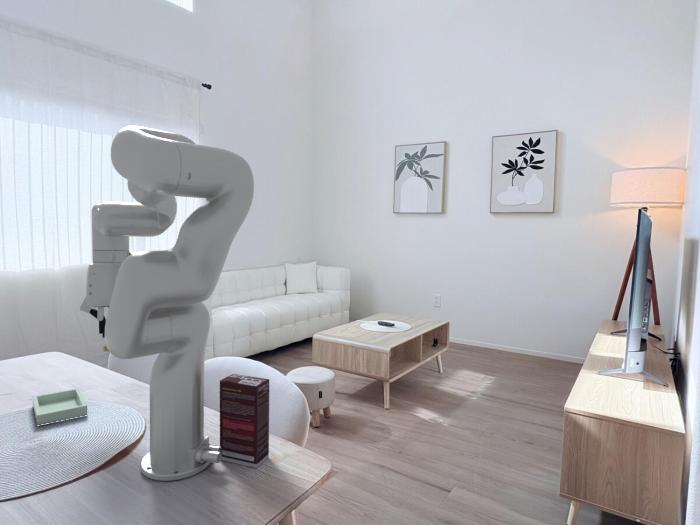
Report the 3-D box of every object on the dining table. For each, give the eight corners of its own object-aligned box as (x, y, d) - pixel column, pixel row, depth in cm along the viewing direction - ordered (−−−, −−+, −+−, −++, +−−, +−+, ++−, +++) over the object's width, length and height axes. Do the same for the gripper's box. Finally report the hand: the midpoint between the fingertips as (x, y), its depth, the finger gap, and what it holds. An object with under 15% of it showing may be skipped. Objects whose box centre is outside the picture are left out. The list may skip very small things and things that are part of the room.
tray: (87, 416, 102) (87, 405, 102) (37, 427, 96) (36, 415, 96) (78, 397, 112) (78, 388, 112) (32, 406, 106) (32, 396, 106)
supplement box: (269, 457, 86) (271, 378, 85) (256, 469, 81) (257, 386, 80) (232, 448, 89) (233, 372, 88) (218, 460, 84) (218, 380, 83)
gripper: (148, 256, 108) (149, 329, 109) (71, 256, 100) (73, 335, 102) (150, 258, 101) (151, 336, 103) (67, 259, 94) (69, 343, 95)
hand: (112, 335), depth 102 cm, fingers closed on grandmother figurine, 2 cm apart
